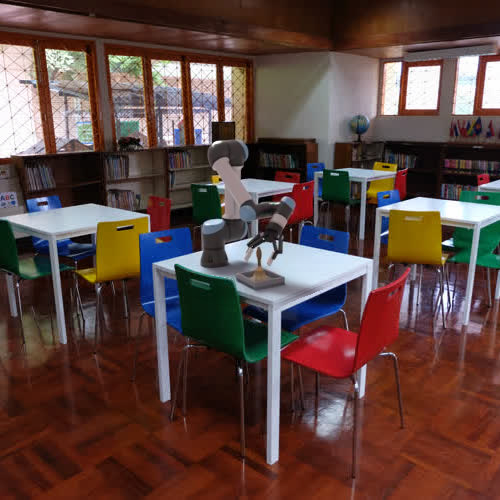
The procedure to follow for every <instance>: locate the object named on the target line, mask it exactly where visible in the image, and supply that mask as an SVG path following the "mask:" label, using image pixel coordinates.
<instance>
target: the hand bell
mask: <svg viewBox="0 0 500 500" xmlns="http://www.w3.org/2000/svg"><path fill="white" fill-rule="evenodd" d="M255 255H256V256H255V257H256V259H257V267H255V268H254V270H255V273H254V276H253V277H252V278H251V279H252V280H254V281H256V282H257V281H262V280H268V277H267V276H266V275H265V271H264V268H265V267H262V256H263V252H262V249H261V246H257V247H256V251H255Z"/></svg>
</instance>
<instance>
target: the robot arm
mask: <svg viewBox="0 0 500 500" xmlns="http://www.w3.org/2000/svg"><path fill="white" fill-rule="evenodd" d="M248 157H249V149H248V146H247V145H246V144H245V142H244V141H242V140H240V139H228V140H216V141H214V142H212V144H210V146H209V147H208V149H207V159H208V163H209V166H210V167H211V169H212V170H213V171H216V173H217V174H218V175H219V178H220V179H221V180H222V182H223V184H224V214H223V215H222V216H221V219H220V218H215V219H208V220H206V221H204V222H203V224H202V231H201V233H202V252H201V256H200V265H201V266H202V267H206V268H221V267H225V266H227V265H229V257H228V254H227V251H226V243H229V242H233V241H239V240H241V239H244V238H245V237H246V236H247V233H248V228H249V226H248V223H247V222H253V221H255V220H261V219H262V220H263V219H267V218H270V220H269V222H268V224H267V225H266V229H265V231H264V232H263V231H262V230H259V231H258V233H257V234H255V236H253V238H251V240H249V241H248V242H247V243H246V246H247V250H246V251H245V255H244V257H243V259H244V260H245V262H249V259H250V258H251V256H252V254H253V252H254V249H257V247H260V245H262V244H264V243H269V244H270V243H271V244H272V247H273V251H272V252H271V253H270V256H269V258H268V259H267V260H266V265H267V266H268V267H271V265H273V263H274V261H275V260H277V259H276V258H277V257H278V255H282V254H283V253H284V252H283V251H284V240H285V237H284V235H283V234H282V233H283V230H284V228H285V226H286V224H287V223H288V220H289V218H290V217H291V216H292V214H293V212H294V210H295V207H296V202H295V200H294V199H292V197H289V196H284V197H282V198H281V199H280V201H262V202H260V203H256V202H255V201H254V199H253V198H252V197H251V195H250V193H249V192H248V190H247V189H246V187H245V185H244V184H243V182H242V179H241V177H242V175H241V173H242V172H241V170H242V168H243V167H245V166H244V165H245V164H244V163H245V162H246V161H247V159H248ZM277 240H278V242H277ZM277 244H278V245H277Z"/></svg>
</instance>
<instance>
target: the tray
mask: <svg viewBox="0 0 500 500" xmlns="http://www.w3.org/2000/svg"><path fill="white" fill-rule="evenodd" d="M263 268H264V271H265V275H266V276H267V277H268V280H262V281H257V282H256V281H254V280H252V279H251V278H252V277H253V276H254V273H255V269H252V270H247V271H240V272H236V273H235V279H236V281H237V282H239V283H241V284H243V285H244V286H246V287H248V288H250V289H252V290H253V291H258V290H265V289H267V288H273V287H279V286H284V285H285V283H286V277H285V276H284V275H281V274H278V273H276V272H274V271H272V270H270V269H267V268H265V267H263Z"/></svg>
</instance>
